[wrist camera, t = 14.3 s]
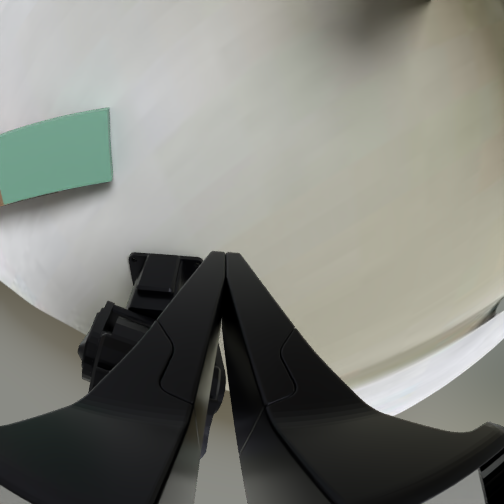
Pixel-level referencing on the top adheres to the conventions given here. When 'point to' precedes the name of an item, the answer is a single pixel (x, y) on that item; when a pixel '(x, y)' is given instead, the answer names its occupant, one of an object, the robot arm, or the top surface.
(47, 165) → the tile
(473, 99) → the top surface
